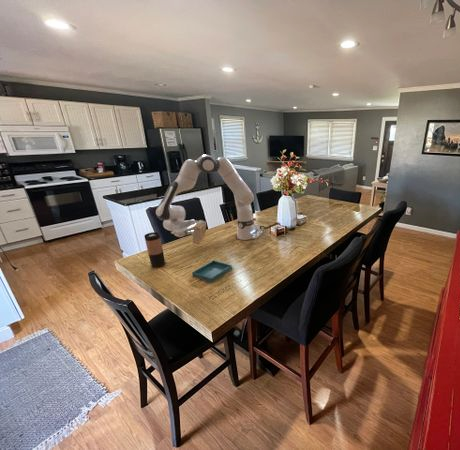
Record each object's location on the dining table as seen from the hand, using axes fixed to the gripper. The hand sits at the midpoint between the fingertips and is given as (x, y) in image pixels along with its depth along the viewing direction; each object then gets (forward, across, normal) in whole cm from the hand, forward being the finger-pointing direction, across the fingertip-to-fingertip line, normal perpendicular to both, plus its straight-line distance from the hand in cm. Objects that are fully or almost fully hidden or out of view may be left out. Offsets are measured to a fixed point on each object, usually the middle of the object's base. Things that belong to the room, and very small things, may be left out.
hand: (198, 231), depth 153 cm
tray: (+23, -14, +17) cm, 32 cm away
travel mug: (-13, -22, +17) cm, 30 cm away
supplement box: (0, 0, +6) cm, 7 cm away
